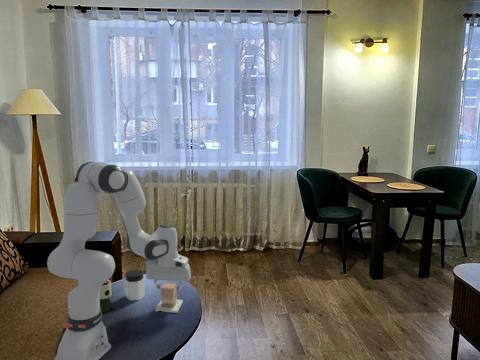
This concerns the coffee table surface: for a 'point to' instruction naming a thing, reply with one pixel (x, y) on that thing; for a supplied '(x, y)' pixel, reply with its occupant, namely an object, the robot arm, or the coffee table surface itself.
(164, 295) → the terracotta block
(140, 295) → the jar
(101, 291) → the character mug
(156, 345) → the coffee table surface
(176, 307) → the base plate
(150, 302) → the coffee table surface
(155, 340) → the coffee table surface
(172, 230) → the robot arm
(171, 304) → the maple block
